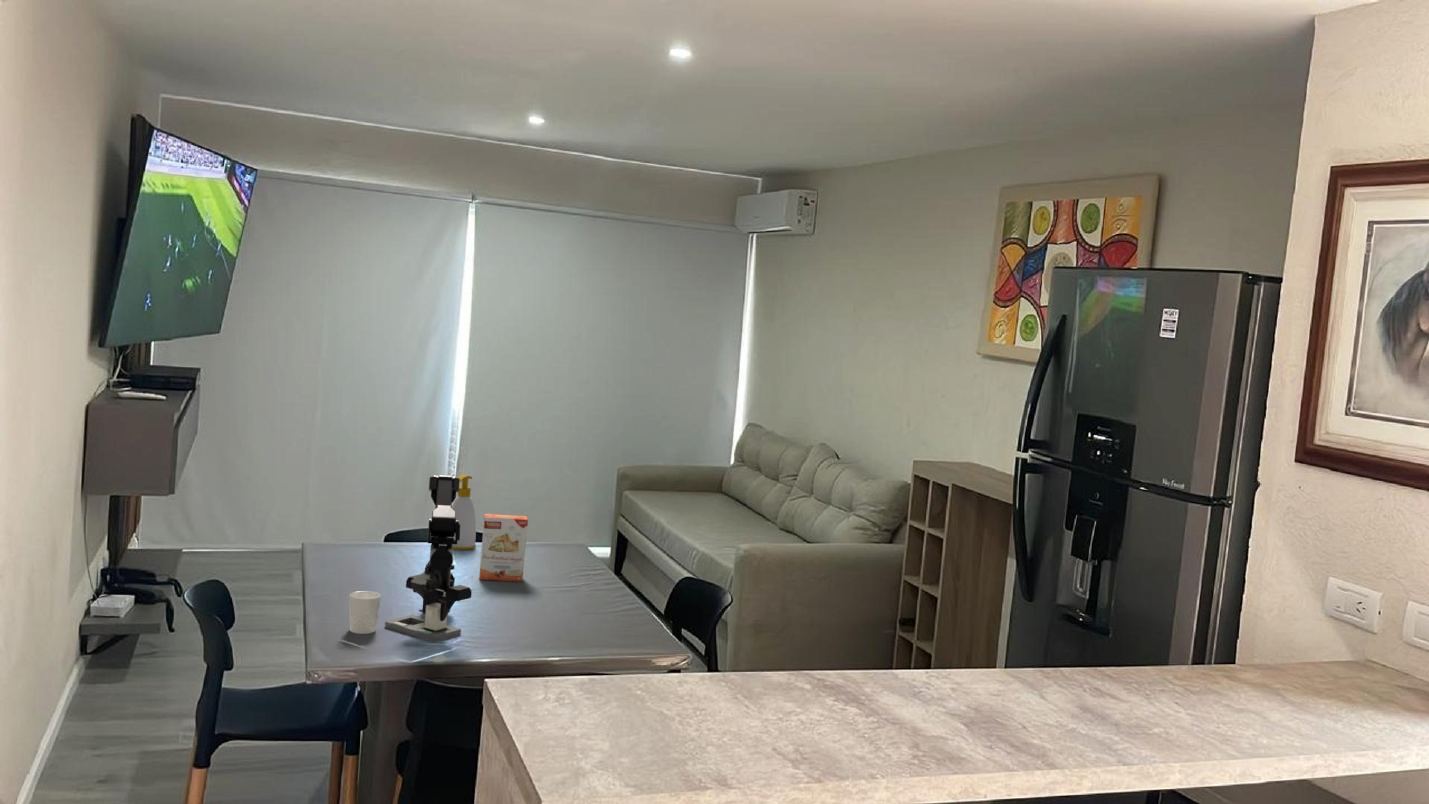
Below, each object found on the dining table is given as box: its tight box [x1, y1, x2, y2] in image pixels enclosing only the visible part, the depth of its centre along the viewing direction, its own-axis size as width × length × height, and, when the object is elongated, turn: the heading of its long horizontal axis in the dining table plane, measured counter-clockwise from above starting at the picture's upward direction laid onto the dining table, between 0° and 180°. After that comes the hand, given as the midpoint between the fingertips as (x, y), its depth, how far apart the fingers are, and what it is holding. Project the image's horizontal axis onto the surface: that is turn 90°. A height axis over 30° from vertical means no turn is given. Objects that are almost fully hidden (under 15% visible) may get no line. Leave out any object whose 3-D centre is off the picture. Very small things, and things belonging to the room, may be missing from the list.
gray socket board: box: [384, 614, 462, 643], centre depth 306 cm, size 10×18×2 cm, turn 60°
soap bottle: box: [448, 474, 477, 551], centre depth 408 cm, size 11×12×26 cm
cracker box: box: [478, 513, 529, 583], centre depth 369 cm, size 14×6×21 cm, turn 102°
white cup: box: [348, 590, 382, 635], centre depth 302 cm, size 8×8×10 cm
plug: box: [424, 603, 448, 631], centre depth 303 cm, size 5×4×6 cm
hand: (436, 619), depth 304 cm, fingers closed on plug, 4 cm apart
